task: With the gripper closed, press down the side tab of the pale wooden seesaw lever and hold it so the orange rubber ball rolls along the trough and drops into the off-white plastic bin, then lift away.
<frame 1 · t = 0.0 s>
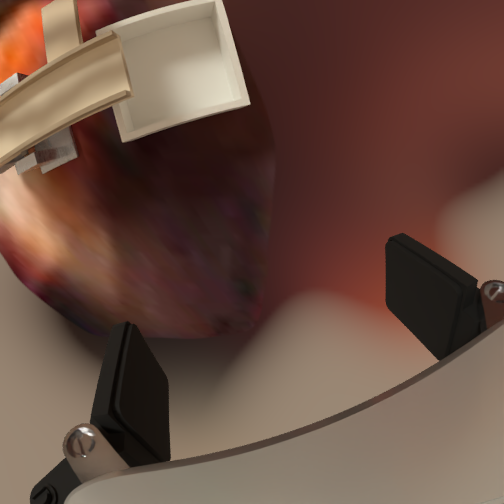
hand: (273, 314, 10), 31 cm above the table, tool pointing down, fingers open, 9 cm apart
lever: (31, 83, 22), point 8 cm above the table, hinge at 7.0°, touching ball
lever stand: (49, 122, 30), on the table
bin: (172, 71, 32), on the table
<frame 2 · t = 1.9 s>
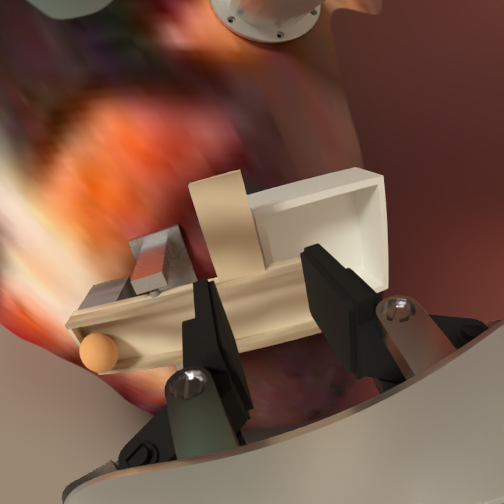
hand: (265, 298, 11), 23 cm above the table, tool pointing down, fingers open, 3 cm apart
lever: (176, 275, 27), point 8 cm above the table, hinge at 7.0°, touching ball
ball: (98, 352, 25), point 11 cm above the table, tilted 16°, touching lever
lever stand: (172, 280, 35), on the table
bin: (312, 236, 37), on the table
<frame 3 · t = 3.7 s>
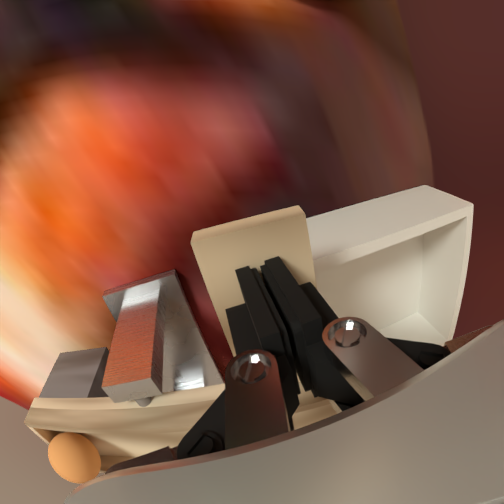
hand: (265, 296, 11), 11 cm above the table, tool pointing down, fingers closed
lever: (175, 368, 16), point 8 cm above the table, hinge at 6.9°, touching ball, gripper
ball: (74, 457, 14), point 11 cm above the table, tilted 16°, touching lever
lever stand: (169, 343, 24), on the table
bin: (365, 279, 25), on the table
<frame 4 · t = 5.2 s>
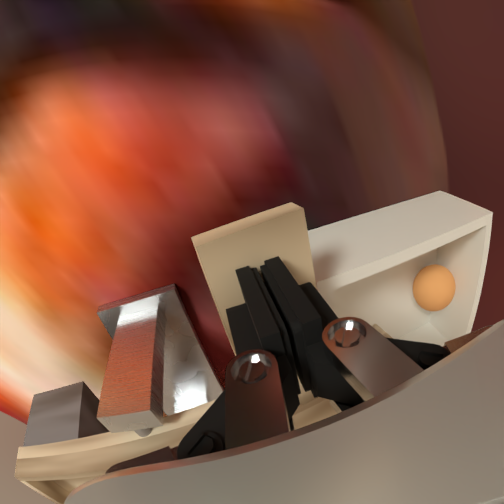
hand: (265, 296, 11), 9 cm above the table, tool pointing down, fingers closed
lever: (169, 390, 14), point 7 cm above the table, hinge at -7.9°, touching gripper
ball: (434, 287, 22), point 3 cm above the table, tilted 154°, touching bin
lever stand: (170, 360, 22), on the table
bin: (377, 291, 24), on the table
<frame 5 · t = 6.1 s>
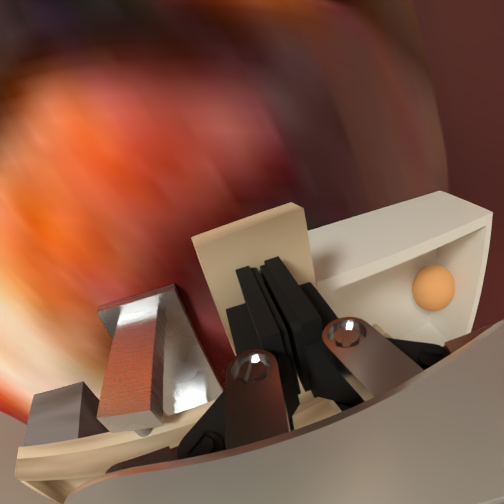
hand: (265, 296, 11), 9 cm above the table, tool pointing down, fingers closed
lever: (169, 390, 14), point 7 cm above the table, hinge at -7.9°, touching gripper
ball: (433, 288, 22), point 3 cm above the table, tilted 153°, touching bin
lever stand: (170, 360, 22), on the table
bin: (377, 291, 24), on the table
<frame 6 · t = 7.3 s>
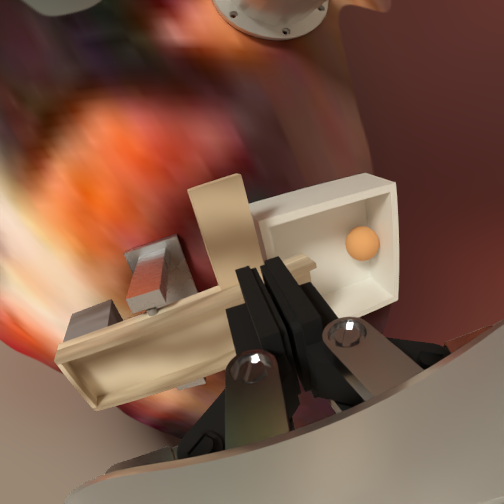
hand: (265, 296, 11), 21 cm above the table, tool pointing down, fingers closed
lever: (171, 290, 25), point 7 cm above the table, hinge at -7.5°
ball: (362, 243, 33), point 3 cm above the table, tilted 152°, touching bin
lever stand: (171, 293, 33), on the table
bin: (319, 246, 35), on the table
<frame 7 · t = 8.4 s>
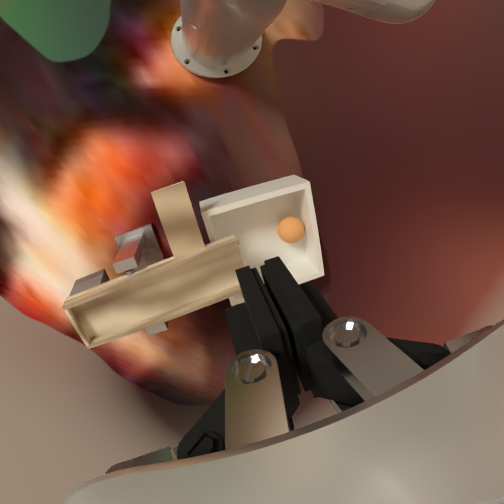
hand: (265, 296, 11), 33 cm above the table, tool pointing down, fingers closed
lever: (143, 259, 37), point 7 cm above the table, hinge at -7.5°
ball: (290, 229, 44), point 3 cm above the table, tilted 151°, touching bin
lever stand: (148, 266, 44), on the table
bin: (259, 232, 46), on the table
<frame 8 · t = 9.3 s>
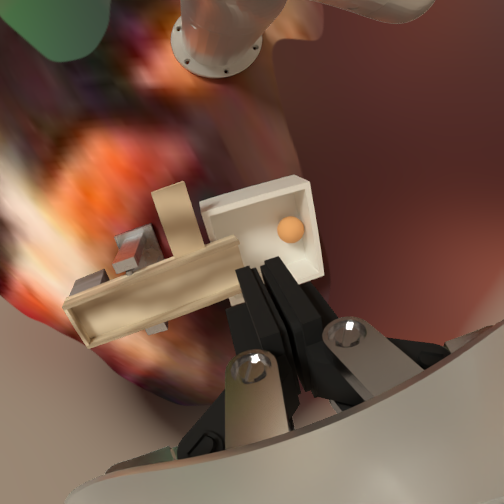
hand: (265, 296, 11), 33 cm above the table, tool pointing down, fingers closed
lever: (143, 259, 37), point 7 cm above the table, hinge at -7.5°
ball: (290, 229, 44), point 3 cm above the table, tilted 149°, touching bin
lever stand: (148, 266, 44), on the table
bin: (259, 232, 46), on the table
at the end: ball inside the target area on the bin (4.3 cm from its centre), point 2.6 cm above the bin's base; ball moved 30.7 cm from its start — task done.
